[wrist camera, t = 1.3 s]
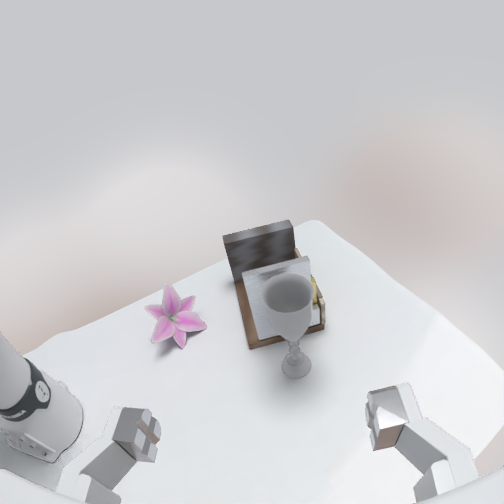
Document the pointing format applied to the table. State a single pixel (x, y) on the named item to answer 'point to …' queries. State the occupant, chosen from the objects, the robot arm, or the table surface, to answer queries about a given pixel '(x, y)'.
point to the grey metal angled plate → (256, 281)
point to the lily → (174, 317)
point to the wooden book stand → (260, 255)
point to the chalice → (290, 316)
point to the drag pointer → (314, 300)
